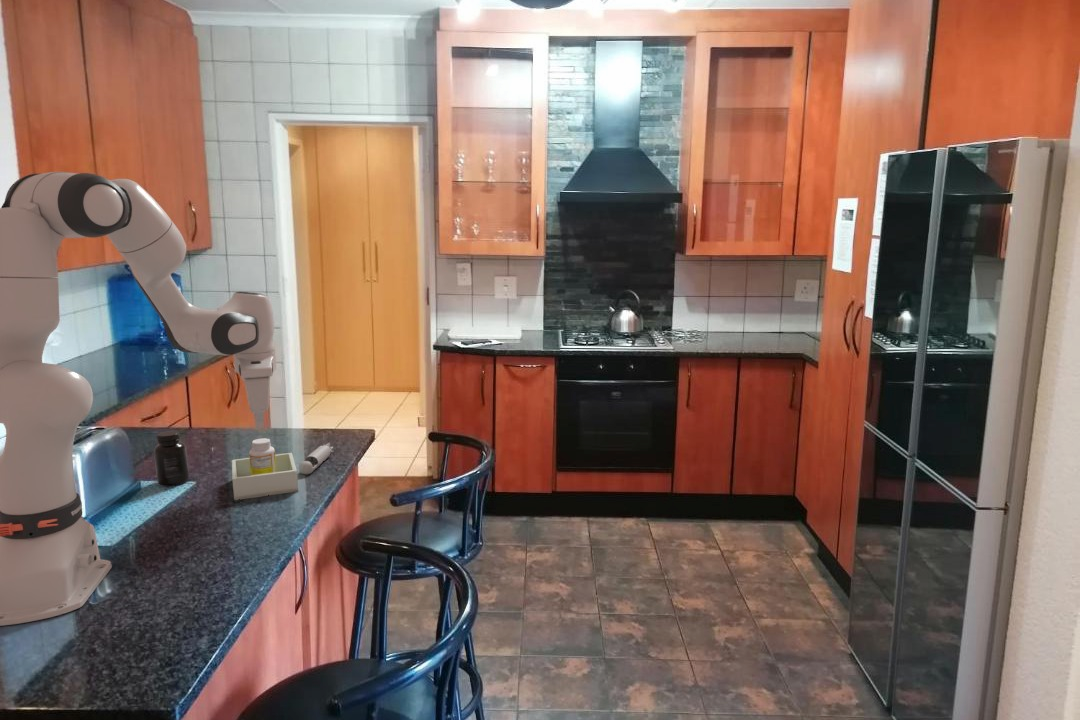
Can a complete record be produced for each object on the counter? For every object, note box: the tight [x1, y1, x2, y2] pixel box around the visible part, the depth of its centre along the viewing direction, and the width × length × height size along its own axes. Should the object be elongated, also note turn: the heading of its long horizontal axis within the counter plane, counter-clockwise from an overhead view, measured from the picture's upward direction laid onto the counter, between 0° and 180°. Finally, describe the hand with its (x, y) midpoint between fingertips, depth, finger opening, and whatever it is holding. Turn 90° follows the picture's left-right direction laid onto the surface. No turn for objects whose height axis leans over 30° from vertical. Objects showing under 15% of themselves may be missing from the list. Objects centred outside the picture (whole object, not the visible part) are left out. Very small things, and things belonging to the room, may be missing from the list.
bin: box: [231, 452, 299, 501], centre depth 171 cm, size 14×14×5 cm
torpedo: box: [298, 433, 334, 476], centre depth 186 cm, size 18×5×6 cm, turn 176°
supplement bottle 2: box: [248, 438, 276, 475], centre depth 171 cm, size 6×6×10 cm
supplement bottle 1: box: [153, 430, 190, 487], centre depth 173 cm, size 7×7×12 cm
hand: (258, 422), depth 168 cm, fingers open, 8 cm apart
